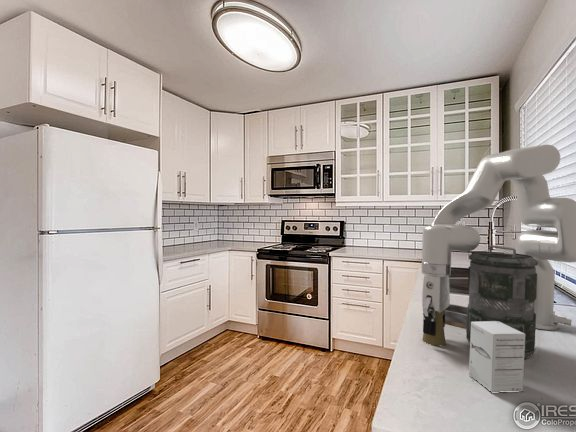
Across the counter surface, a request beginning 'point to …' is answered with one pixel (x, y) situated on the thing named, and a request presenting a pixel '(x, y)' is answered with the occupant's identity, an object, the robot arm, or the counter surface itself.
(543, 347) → the counter surface
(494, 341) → the supplement box
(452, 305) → the grey square tray
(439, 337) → the olive tall flared cylinder
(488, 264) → the canister
